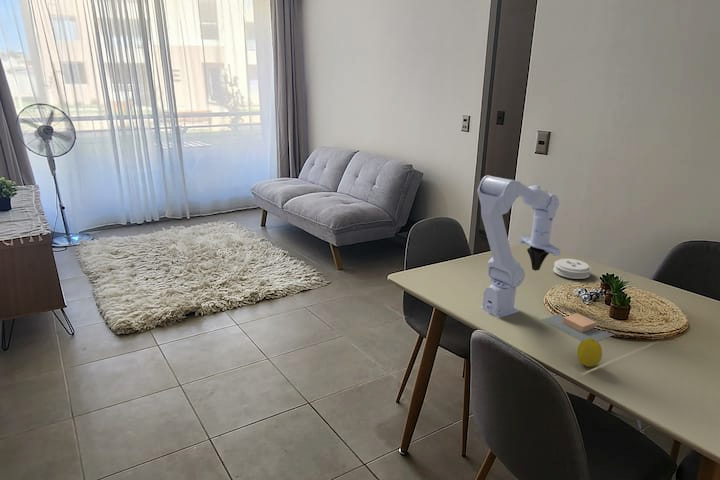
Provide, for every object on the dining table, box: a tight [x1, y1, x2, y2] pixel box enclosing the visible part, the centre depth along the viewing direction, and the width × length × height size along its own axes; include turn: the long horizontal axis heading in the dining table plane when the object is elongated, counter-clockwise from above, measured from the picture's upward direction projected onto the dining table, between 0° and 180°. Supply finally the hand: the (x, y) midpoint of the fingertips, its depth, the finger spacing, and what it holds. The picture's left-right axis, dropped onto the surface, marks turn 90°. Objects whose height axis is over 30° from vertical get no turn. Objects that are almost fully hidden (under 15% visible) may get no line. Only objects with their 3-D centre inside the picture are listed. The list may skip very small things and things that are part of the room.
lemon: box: [576, 338, 603, 367], centre depth 115 cm, size 6×6×8 cm
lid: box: [552, 258, 591, 280], centre depth 173 cm, size 13×13×5 cm
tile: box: [563, 312, 597, 332], centre depth 135 cm, size 6×2×6 cm
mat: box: [541, 313, 616, 343], centre depth 135 cm, size 12×16×1 cm
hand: (535, 269), depth 152 cm, fingers closed
